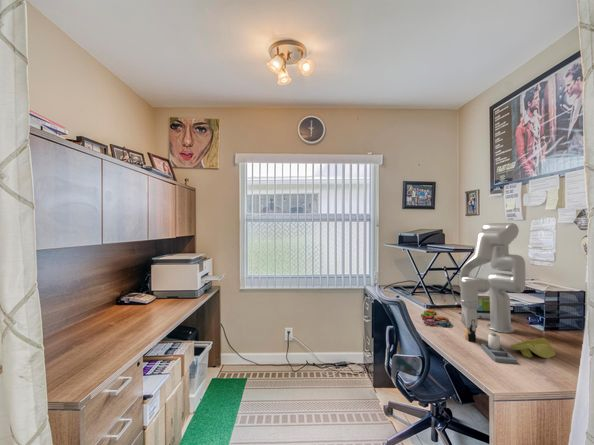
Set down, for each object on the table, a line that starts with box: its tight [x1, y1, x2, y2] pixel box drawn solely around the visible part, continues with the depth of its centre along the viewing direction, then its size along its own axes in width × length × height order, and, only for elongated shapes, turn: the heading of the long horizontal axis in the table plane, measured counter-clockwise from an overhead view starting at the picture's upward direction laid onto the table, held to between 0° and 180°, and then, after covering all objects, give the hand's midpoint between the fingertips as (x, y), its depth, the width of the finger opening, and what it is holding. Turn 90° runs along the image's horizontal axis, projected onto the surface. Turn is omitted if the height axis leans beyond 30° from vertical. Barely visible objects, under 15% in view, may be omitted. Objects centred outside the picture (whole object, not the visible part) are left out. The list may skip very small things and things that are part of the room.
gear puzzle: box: [420, 309, 454, 329], centre depth 184 cm, size 31×16×4 cm, turn 164°
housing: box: [480, 343, 518, 364], centre depth 130 cm, size 16×9×2 cm, turn 166°
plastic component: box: [510, 337, 556, 359], centre depth 131 cm, size 20×7×10 cm
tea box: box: [476, 292, 490, 320], centre depth 188 cm, size 15×10×15 cm, turn 83°
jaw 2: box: [487, 332, 501, 351], centre depth 134 cm, size 4×4×8 cm
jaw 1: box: [464, 325, 472, 341], centre depth 148 cm, size 4×4×8 cm
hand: (470, 339), depth 147 cm, fingers closed on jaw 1, 4 cm apart
